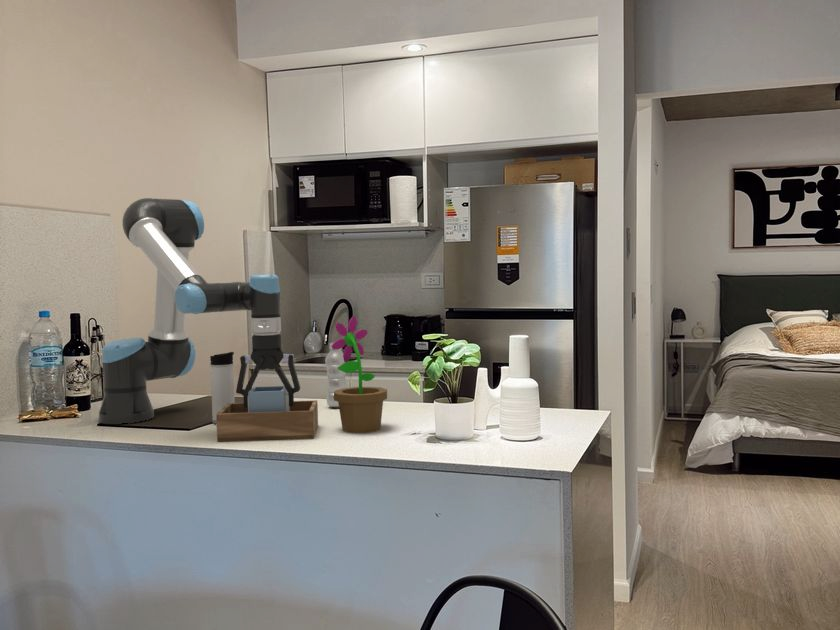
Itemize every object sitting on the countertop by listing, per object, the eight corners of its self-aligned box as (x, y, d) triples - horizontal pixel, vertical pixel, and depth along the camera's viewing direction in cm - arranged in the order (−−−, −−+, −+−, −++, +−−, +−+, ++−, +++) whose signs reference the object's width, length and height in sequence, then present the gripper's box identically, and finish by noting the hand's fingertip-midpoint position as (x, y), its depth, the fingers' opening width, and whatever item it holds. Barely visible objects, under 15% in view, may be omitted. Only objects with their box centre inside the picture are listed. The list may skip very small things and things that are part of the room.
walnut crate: (229, 428, 210) (228, 403, 209) (318, 425, 211) (317, 400, 210) (217, 441, 194) (216, 414, 193) (313, 438, 195) (312, 411, 195)
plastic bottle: (347, 409, 235) (345, 343, 234) (325, 409, 235) (323, 344, 234) (349, 405, 241) (347, 341, 240) (328, 405, 241) (326, 342, 240)
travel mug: (230, 424, 215) (227, 353, 213) (208, 424, 216) (205, 353, 215) (240, 420, 221) (237, 350, 219) (218, 419, 222) (216, 350, 221)
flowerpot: (364, 421, 216) (362, 314, 214) (399, 428, 206) (397, 316, 204) (323, 429, 206) (320, 317, 204) (358, 437, 196) (355, 319, 194)
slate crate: (254, 420, 206) (253, 386, 206) (288, 419, 207) (287, 385, 206) (249, 427, 197) (248, 392, 197) (284, 425, 198) (283, 391, 197)
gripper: (221, 336, 196) (224, 423, 198) (307, 333, 198) (310, 420, 199) (226, 333, 204) (230, 418, 205) (309, 331, 205) (312, 415, 206)
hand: (269, 419), depth 202 cm, fingers closed on slate crate, 9 cm apart
